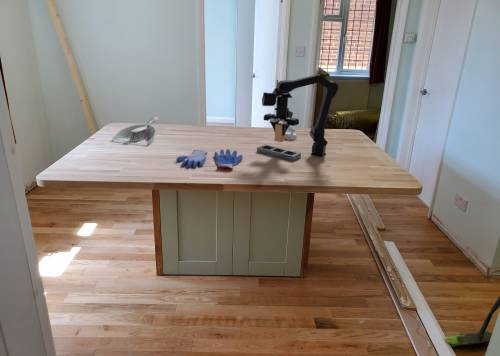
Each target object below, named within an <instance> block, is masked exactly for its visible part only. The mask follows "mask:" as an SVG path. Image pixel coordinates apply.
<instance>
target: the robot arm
mask: <svg viewBox="0 0 500 356" xmlns="http://www.w3.org/2000/svg"><path fill="white" fill-rule="evenodd" d="M315 84H319V85H320V86H322V87H323V89H322V96H323V97H322V101H321V104H320V108H319V111H318V112H319V113H318V114H317V115H318V116H317V119H316V123H315V124H314V126H313V125H311V126H310V131H309V135H310V138H311V139H312V141H313V144H312V145H311V146H312V147H311V152H310V154H311V155H313V156H317V157H319V158H320V157H324V156H325V155H327V153H326V148H327V146H328V143H329V142H328V141H327V139H326V138H325V133H326V132H325V130H326V129H325V125H326V122H327V119H328V118H327V117H328V115H329V111H330V108H331V104H332V100H333V99H334V98H335V97H336V95H337V93H338V91H339V85H338V83H337V82H334V81H332V80H328V79H327V78H325V77H324V76H323V75H321V74H319V73H316V74H313V75H309V76H306V77H302V78H301V77H300V78H298V79H297V78H296V79H292V80H291V79H290V80H289V79H287V80H280V81H278V82H277V84H276V87H275V88H274V90H273V91H272V92H266V91H265V92H263V94H262V97H261V104H262V105H261V106H262V107H274V106H275V105H276V107H275V108H274V111H275V114H274V113H267V114H264V116H263V121H267V122H268V121H269V122H268V123H270V125H271V127H272V128H273V131H274V133H275V124H278V123H280V122H282V135H283V136H285V133H286V132H288V130H287V129H288V127H289V126H291V127H293V126H294V127H295V126H297V125H299V124H300V120H299V118H296V117H293V115H294V112H293V111H290V109H289V107H288V103H289V99H292V98H293V96H292V95H291V94H290V92H292V91H294V90H296V89H299V88H302V87H306V86H307V87H308V86H310V85H315ZM283 122H285V124H283Z"/></svg>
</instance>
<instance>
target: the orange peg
mask: <svg viewBox="0 0 500 356" xmlns="http://www.w3.org/2000/svg"><path fill="white" fill-rule="evenodd" d="M282 124H283V122H282V123H281V122H279V123H278V124H275V132H274V142H277V143H283V142H285V141H286V139H285V136H283V135H282Z"/></svg>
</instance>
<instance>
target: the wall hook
mask: <svg viewBox="0 0 500 356" xmlns="http://www.w3.org/2000/svg"><path fill="white" fill-rule="evenodd" d="M282 124H285V122H282ZM297 136H298V135H297V133H296V129H295V128H294V127H293V126H291V125H290V126H289V127H288V129H287V131H286V133H285V140H287V141H288V140H290V141H294V140H297Z"/></svg>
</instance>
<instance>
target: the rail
mask: <svg viewBox="0 0 500 356" xmlns="http://www.w3.org/2000/svg"><path fill="white" fill-rule="evenodd" d="M256 152H257V153H259V154H260V153H261V154H263V155H267V156H271V157H275V158H279V159H282V160H286V161H290V162H295V161H297V160H299V159H301V157H302V156H301V155H302V153H301V152H297V151H293V150H291V149H285V148H281V147H277V146H274V145H273V146H272V145H269V144H263V145H260V146H258V147H256Z"/></svg>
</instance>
